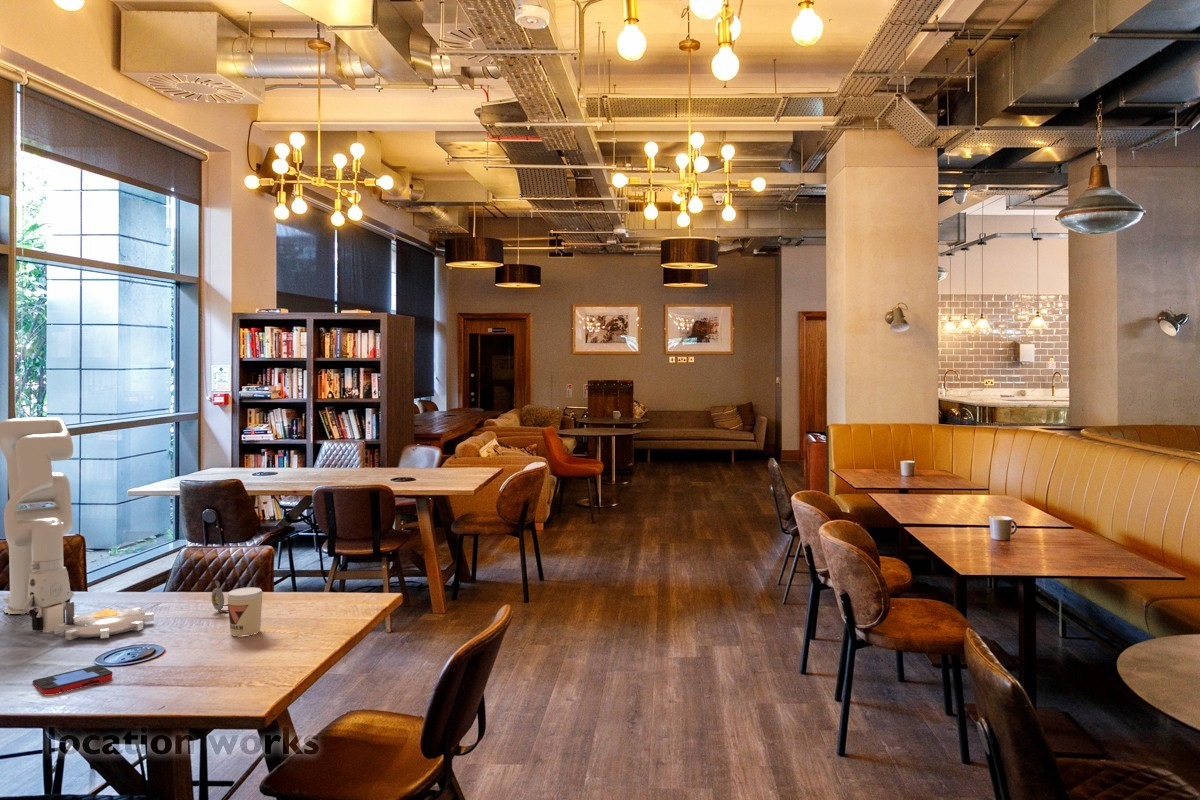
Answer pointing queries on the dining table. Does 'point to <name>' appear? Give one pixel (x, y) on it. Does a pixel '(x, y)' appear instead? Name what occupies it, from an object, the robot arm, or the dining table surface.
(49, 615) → the link block
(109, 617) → the sprocket
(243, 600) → the coffee cup
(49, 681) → the game console
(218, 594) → the pocket watch
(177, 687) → the dining table surface
